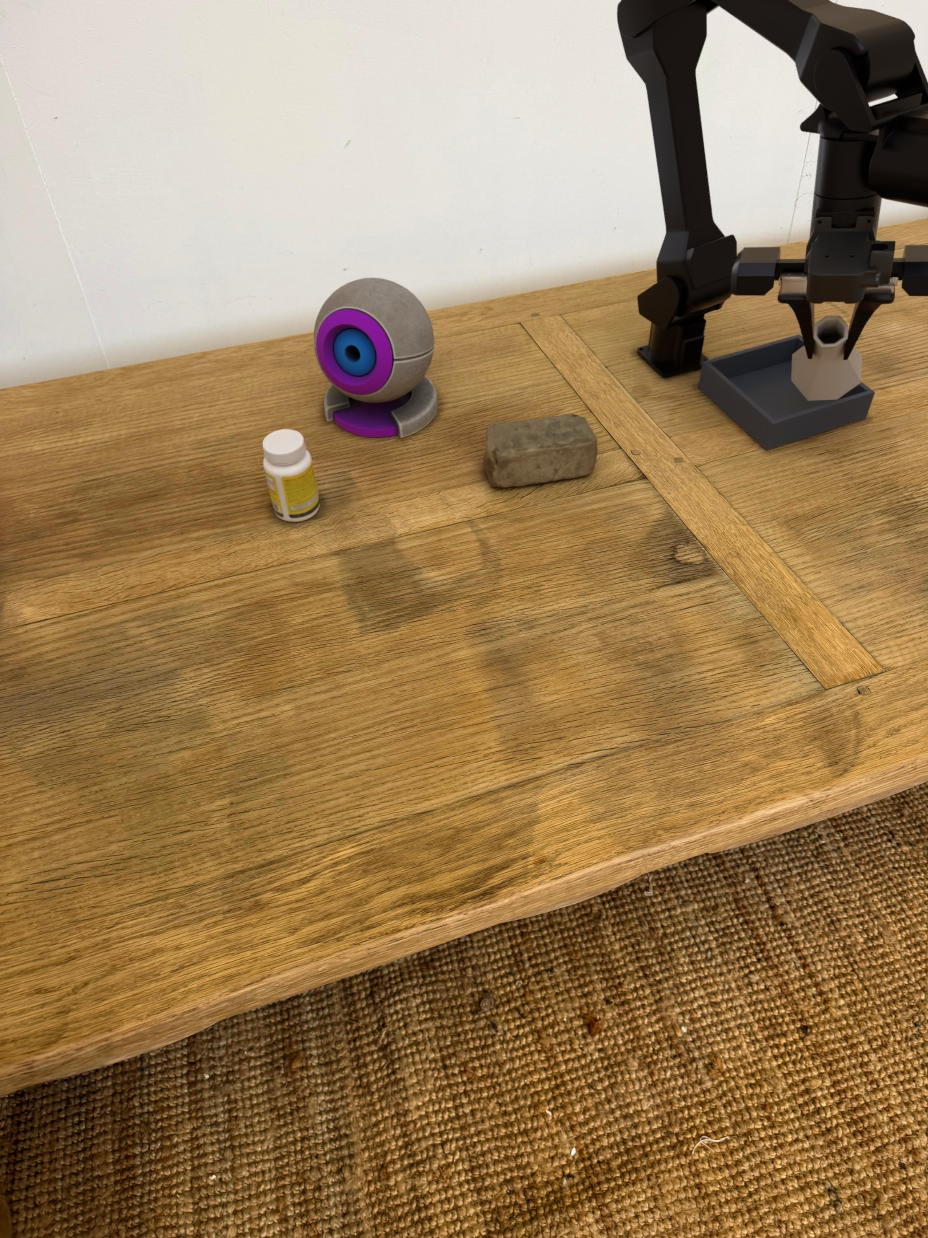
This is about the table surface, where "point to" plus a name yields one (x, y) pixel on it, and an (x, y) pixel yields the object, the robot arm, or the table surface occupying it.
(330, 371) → the webcam
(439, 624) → the table surface
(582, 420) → the stone block
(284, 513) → the supplement bottle
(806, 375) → the flask
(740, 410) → the dark grey square tray
